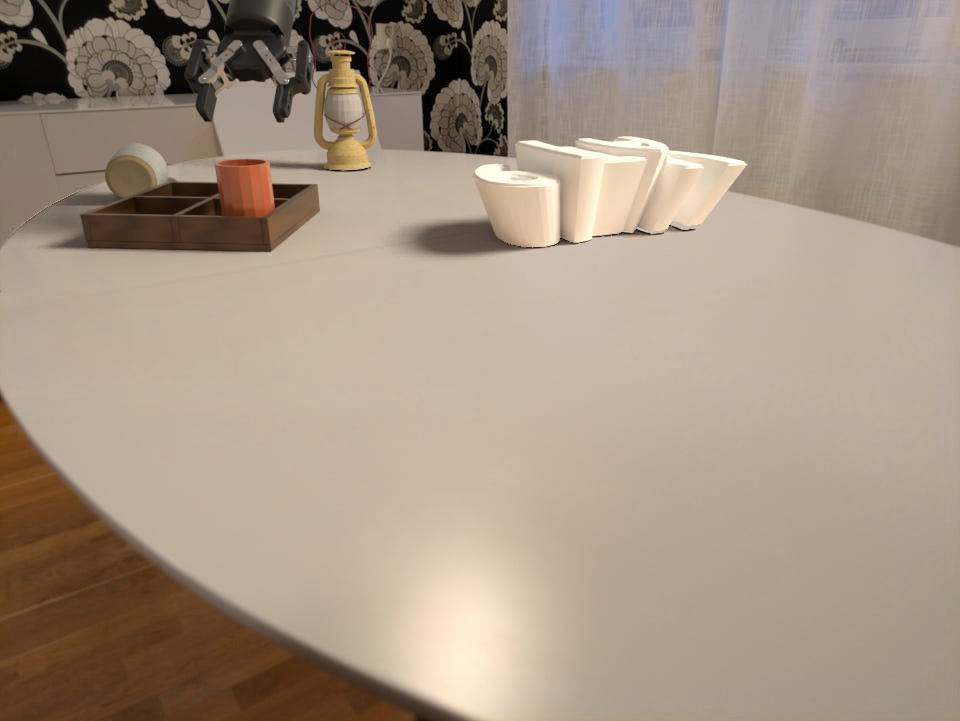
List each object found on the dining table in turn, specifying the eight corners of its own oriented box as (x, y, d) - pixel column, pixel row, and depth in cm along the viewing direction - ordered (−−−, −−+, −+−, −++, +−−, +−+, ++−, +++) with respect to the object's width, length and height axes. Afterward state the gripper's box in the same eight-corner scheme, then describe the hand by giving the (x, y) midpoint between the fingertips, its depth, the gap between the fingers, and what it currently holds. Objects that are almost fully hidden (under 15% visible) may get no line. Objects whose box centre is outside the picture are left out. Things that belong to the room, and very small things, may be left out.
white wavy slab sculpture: (670, 207, 100) (679, 133, 96) (747, 233, 86) (762, 147, 82) (448, 225, 89) (447, 142, 84) (495, 258, 75) (497, 160, 70)
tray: (87, 247, 77) (79, 214, 76) (172, 208, 97) (168, 181, 95) (271, 251, 76) (267, 218, 75) (320, 211, 96) (317, 184, 94)
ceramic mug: (107, 205, 97) (96, 150, 94) (119, 194, 105) (109, 143, 101) (185, 203, 100) (177, 150, 97) (192, 193, 107) (185, 143, 104)
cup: (216, 236, 78) (205, 166, 75) (236, 224, 84) (226, 158, 80) (267, 237, 78) (258, 166, 75) (283, 225, 84) (276, 159, 80)
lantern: (376, 163, 137) (368, -4, 125) (381, 170, 129) (372, -8, 116) (316, 164, 135) (301, -6, 122) (317, 172, 126) (301, -10, 114)
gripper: (326, 35, 86) (310, 140, 80) (217, 34, 87) (194, 138, 81) (311, -16, 79) (293, 95, 73) (192, -17, 79) (165, 93, 74)
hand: (241, 117), depth 77 cm, fingers open, 8 cm apart
